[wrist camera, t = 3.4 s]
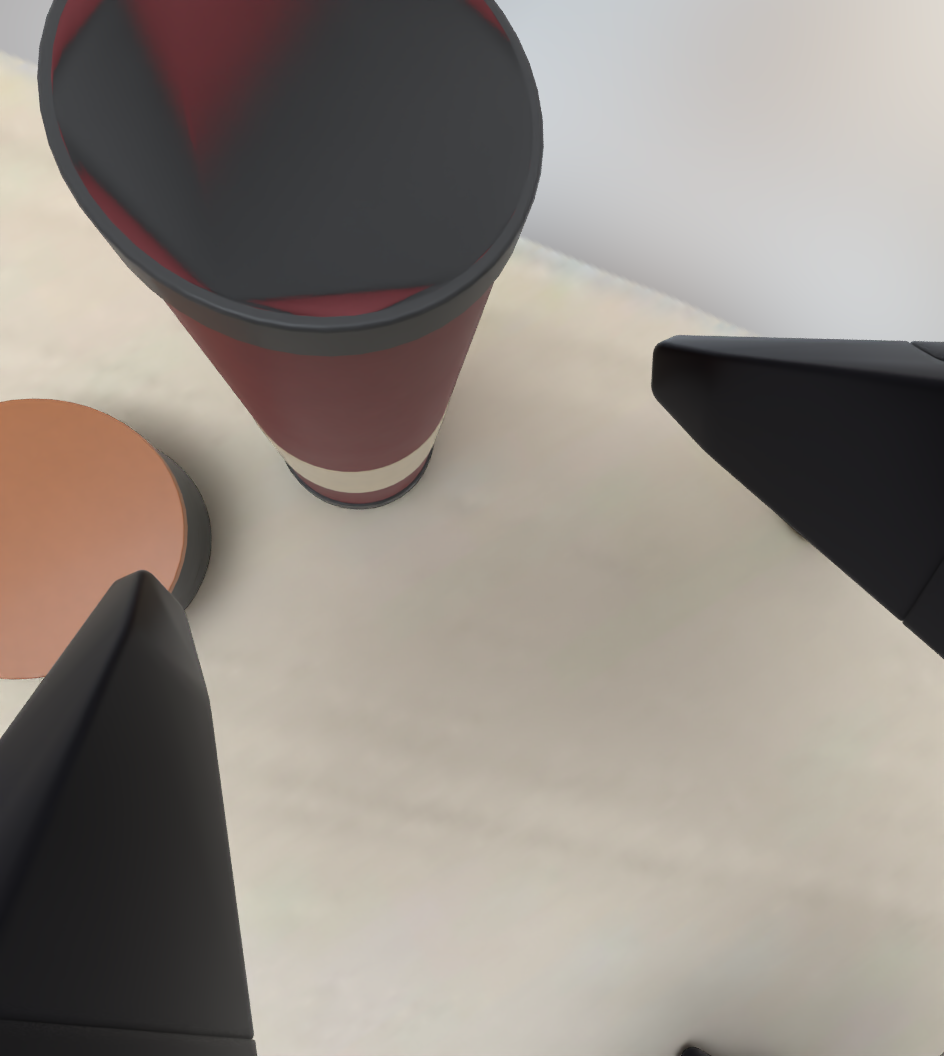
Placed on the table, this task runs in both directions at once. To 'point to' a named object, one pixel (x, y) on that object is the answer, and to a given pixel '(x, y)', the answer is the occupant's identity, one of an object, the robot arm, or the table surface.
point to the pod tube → (306, 200)
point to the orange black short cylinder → (84, 524)
